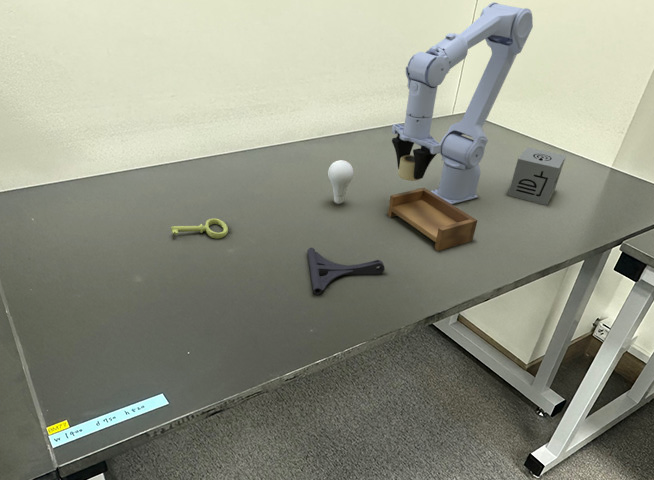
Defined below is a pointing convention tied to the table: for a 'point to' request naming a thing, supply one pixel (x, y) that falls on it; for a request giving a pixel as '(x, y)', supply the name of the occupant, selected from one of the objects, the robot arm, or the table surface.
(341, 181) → the lightbulb
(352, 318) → the table surface
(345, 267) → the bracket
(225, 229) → the key
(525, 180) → the icon cube
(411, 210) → the shelf
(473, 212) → the table surface
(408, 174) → the tape roll
